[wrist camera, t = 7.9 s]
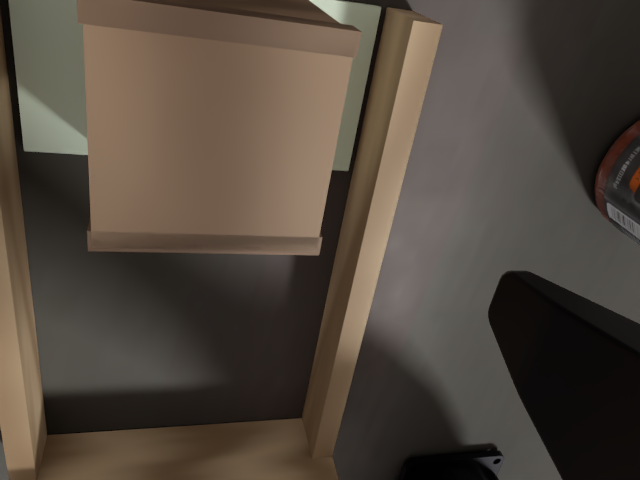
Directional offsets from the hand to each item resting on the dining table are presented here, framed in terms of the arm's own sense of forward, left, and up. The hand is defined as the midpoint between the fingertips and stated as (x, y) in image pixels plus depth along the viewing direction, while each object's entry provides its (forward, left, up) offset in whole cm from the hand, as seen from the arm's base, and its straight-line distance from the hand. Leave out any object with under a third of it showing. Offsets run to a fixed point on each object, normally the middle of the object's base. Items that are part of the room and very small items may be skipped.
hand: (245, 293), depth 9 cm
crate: (0, 0, -12) cm, 12 cm away
